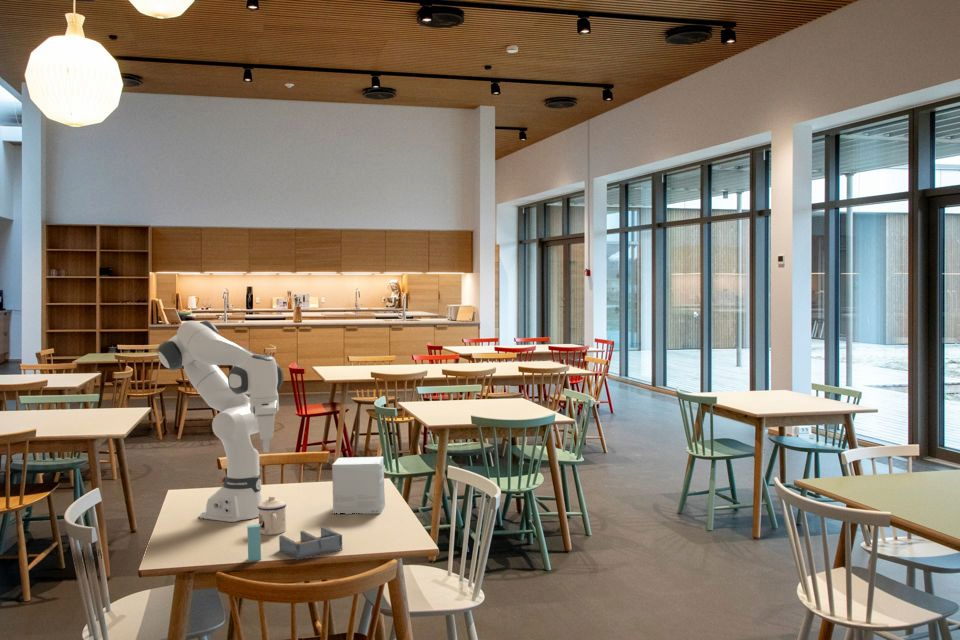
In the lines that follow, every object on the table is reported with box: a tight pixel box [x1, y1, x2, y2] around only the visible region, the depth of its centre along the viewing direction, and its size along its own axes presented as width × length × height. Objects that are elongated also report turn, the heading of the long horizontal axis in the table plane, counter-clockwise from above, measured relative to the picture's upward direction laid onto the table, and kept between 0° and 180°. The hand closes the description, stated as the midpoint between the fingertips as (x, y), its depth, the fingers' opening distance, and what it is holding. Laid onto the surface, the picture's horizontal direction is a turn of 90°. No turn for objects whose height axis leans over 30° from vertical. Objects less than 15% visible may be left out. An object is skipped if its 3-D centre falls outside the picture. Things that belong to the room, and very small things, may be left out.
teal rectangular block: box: [246, 523, 262, 562], centre depth 241 cm, size 2×4×10 cm
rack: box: [278, 526, 343, 561], centre depth 249 cm, size 12×15×4 cm
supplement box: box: [331, 456, 386, 515], centre depth 295 cm, size 17×13×18 cm
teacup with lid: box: [258, 495, 287, 536], centre depth 268 cm, size 12×9×12 cm
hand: (265, 449), depth 257 cm, fingers open, 8 cm apart
